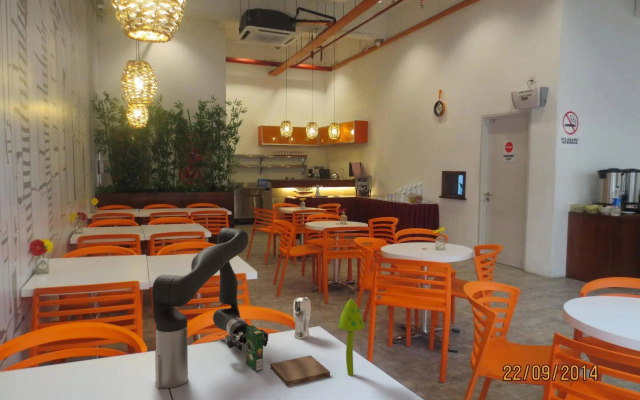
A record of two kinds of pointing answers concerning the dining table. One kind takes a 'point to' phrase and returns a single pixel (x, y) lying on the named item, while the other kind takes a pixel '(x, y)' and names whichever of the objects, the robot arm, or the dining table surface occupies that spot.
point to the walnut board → (299, 370)
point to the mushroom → (350, 329)
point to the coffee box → (254, 348)
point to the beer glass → (301, 317)
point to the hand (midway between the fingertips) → (253, 345)
